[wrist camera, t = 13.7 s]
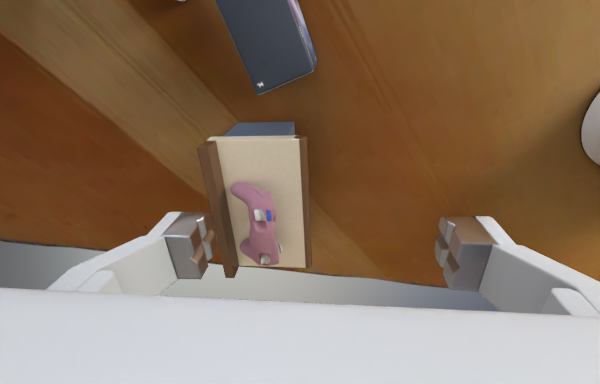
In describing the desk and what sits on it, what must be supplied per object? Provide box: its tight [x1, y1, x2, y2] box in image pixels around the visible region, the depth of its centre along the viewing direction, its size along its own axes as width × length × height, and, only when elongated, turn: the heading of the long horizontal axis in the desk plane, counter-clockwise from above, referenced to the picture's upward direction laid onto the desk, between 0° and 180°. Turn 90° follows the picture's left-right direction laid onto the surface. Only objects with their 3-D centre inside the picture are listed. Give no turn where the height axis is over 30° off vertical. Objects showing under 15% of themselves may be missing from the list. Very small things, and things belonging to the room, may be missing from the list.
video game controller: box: [230, 182, 282, 266], centre depth 34 cm, size 10×5×7 cm, turn 2°
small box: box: [215, 0, 318, 95], centre depth 31 cm, size 11×6×10 cm, turn 22°
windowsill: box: [197, 122, 312, 278], centre depth 40 cm, size 11×18×12 cm, turn 2°
